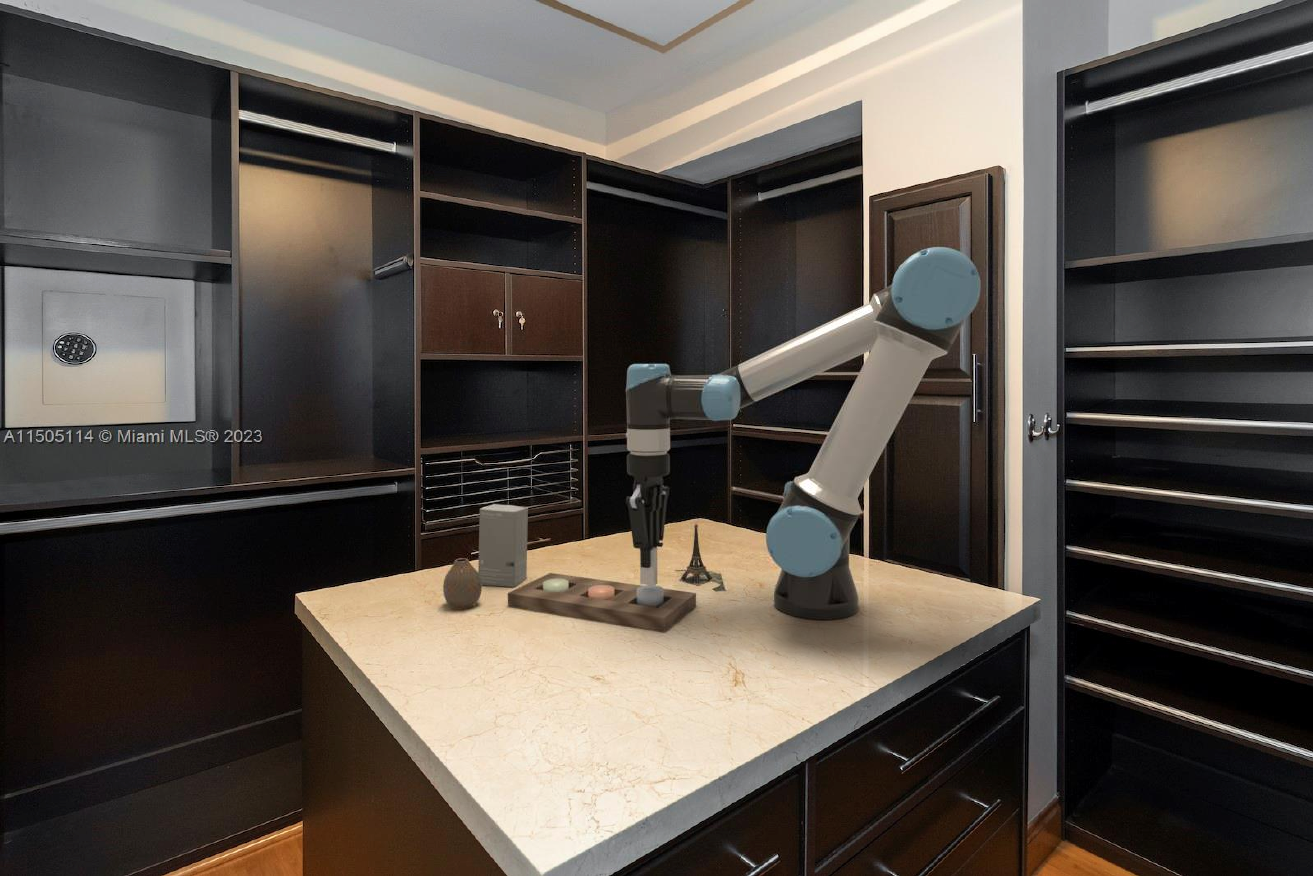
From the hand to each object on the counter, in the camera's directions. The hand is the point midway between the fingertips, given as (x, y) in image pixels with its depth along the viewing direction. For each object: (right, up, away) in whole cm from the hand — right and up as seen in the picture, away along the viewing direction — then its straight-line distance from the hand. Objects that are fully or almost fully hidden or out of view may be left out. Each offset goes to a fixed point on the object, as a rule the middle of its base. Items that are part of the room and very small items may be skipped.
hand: (648, 583), depth 124 cm
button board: (-9, -5, +5) cm, 11 cm away
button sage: (-18, -5, +9) cm, 20 cm away
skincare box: (-30, -4, +20) cm, 37 cm away
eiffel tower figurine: (+10, -4, +20) cm, 23 cm away
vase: (-35, -6, +6) cm, 36 cm away
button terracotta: (-9, -5, +5) cm, 11 cm away
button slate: (0, -4, 0) cm, 4 cm away
